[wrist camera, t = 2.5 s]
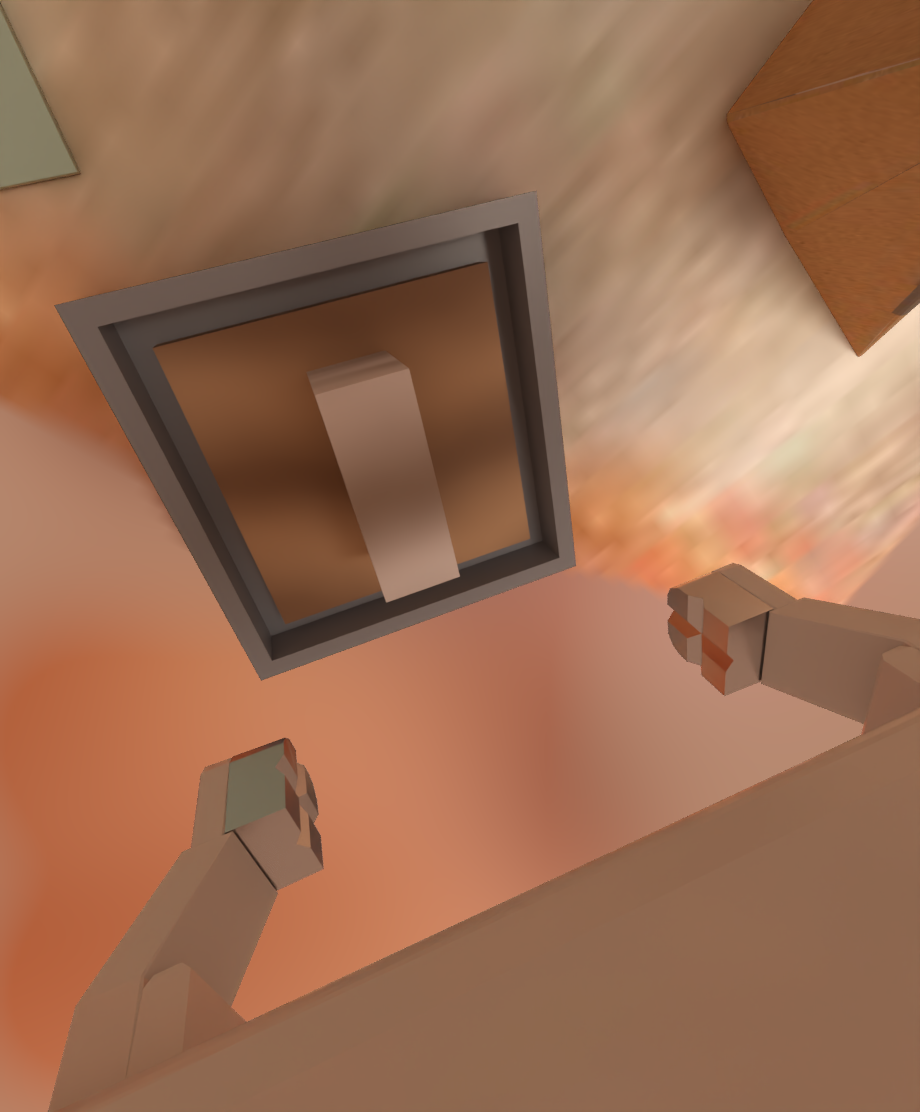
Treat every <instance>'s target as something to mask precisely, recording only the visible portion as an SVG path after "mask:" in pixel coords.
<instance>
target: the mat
mask: <svg viewBox="0 0 920 1112" xmlns="http://www.w3.org/2000/svg"><path fill="white" fill-rule="evenodd" d="M76 174H81V173H80V171H79V169H78V167H77V165H76V162H75V160H74V158H73V156H72V154H71V152H70V150H69V148H68V145H67V143H66V141H65V139H64V137H63V135H62V133H61V131H60V128H59V126H58V124H57V122H56V120H55V118H54V116H53V114H52V111H51V109H50V107H49V105H48V103H47V101H46V99H45V97H44V95H43V92H42V90H41V88H40V86H39V84H38V82H37V80H36V78H35V75H34V73H33V71H32V69H31V67H30V65H29V63H28V61H27V58H26V56H25V54H24V52H23V50H22V48H21V46H20V44H19V41H18V39H17V37H16V35H15V33H14V31H13V29H12V27H11V25H10V22H9V20H8V18H7V16H6V14H5V12H4V10H3V8H2V5H1V3H0V190H2V189H7V188H12V187H17V186H22V185H27V184H32V183H36V182H41V181H46V180H51V179H56V178H61V177H66V176H71V175H76Z"/></svg>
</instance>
